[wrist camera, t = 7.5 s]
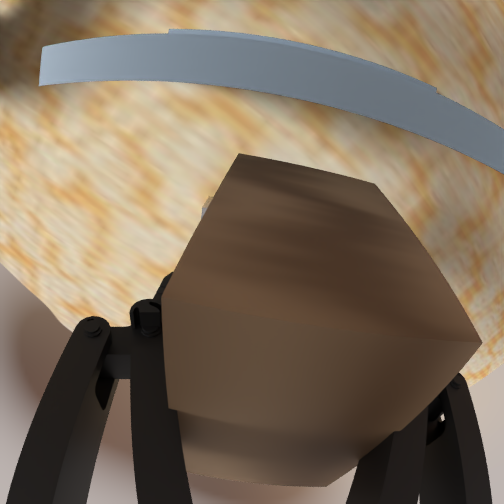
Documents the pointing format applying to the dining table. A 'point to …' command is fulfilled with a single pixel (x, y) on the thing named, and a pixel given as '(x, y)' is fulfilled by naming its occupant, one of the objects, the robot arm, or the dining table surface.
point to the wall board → (279, 80)
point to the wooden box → (303, 327)
